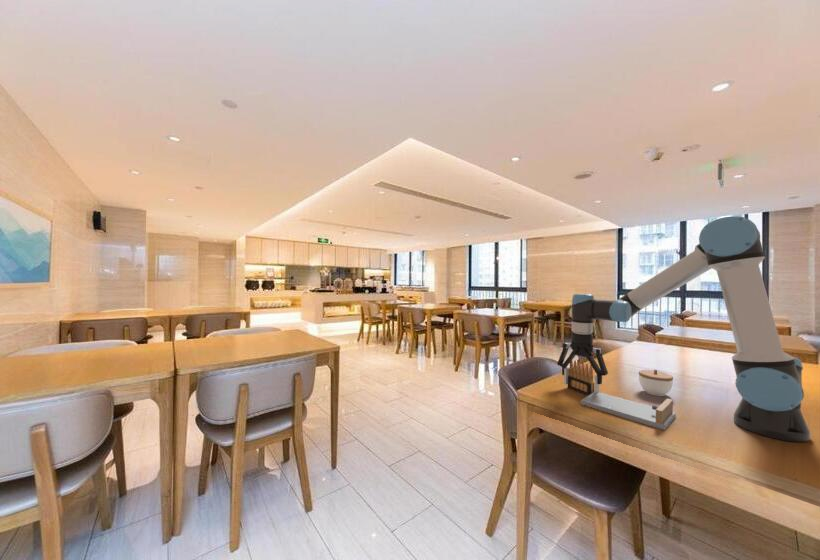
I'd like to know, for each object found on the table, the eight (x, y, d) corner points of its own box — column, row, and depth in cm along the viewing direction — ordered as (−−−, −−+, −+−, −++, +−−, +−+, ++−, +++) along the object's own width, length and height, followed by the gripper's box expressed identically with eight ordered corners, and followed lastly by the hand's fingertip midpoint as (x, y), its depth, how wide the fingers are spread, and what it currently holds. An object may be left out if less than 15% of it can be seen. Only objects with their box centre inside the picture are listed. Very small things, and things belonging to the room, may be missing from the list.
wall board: (675, 417, 103) (675, 400, 103) (664, 430, 94) (665, 412, 94) (595, 395, 121) (595, 381, 121) (580, 404, 112) (580, 389, 112)
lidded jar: (660, 389, 129) (660, 366, 128) (679, 399, 118) (680, 374, 118) (632, 387, 130) (632, 365, 130) (649, 397, 119) (650, 373, 119)
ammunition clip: (594, 396, 120) (594, 365, 120) (590, 397, 119) (591, 365, 119) (570, 387, 130) (571, 358, 130) (567, 387, 129) (567, 358, 129)
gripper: (618, 336, 118) (617, 394, 118) (557, 327, 135) (556, 378, 136) (611, 338, 113) (610, 399, 113) (548, 329, 131) (548, 381, 131)
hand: (581, 387), depth 124 cm, fingers open, 11 cm apart
